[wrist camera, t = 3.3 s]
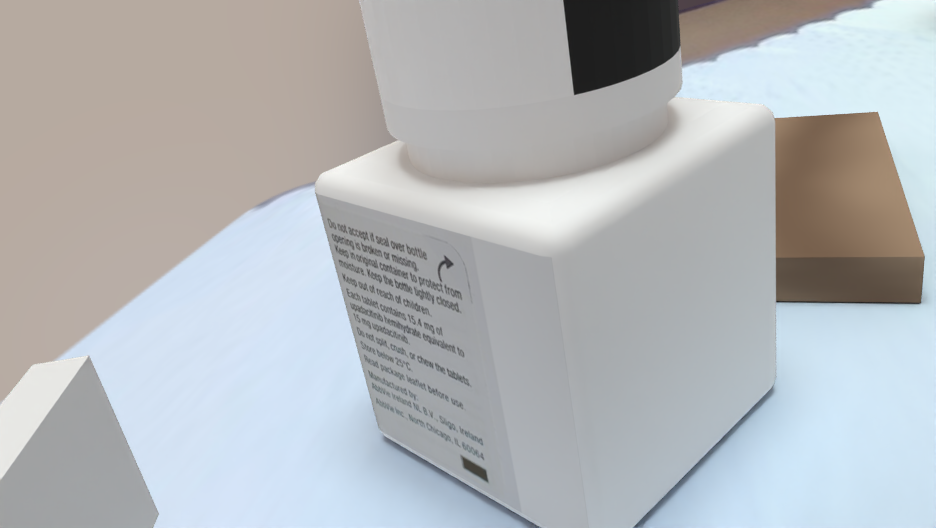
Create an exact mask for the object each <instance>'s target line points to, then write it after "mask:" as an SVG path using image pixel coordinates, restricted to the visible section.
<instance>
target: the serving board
mask: <svg viewBox="0 0 936 528" xmlns="http://www.w3.org/2000/svg"><path fill="white" fill-rule="evenodd" d="M774 119H775V201H776V301H816V302H901V303H921V295H922V283H923V271H924V259H925V256H924V253H923V250H922V247H921V244H920V241H919V238H918V235H917V232H916V228H915V225H914V222H913V219H912V216H911V213H910V210H909V207H908V204H907V201H906V198H905V195H904V191H903V188H902V185H901V182H900V179H899V176H898V173H897V170H896V167H895V164H894V161H893V158H892V154H891V151H890V148H889V145H888V142H887V139H886V136H885V133H884V130H883V127H882V124H881V121H880V117H879V114H878V112H869V113H853V114H836V115H820V116H804V117H788V118H774Z"/></svg>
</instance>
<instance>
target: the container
mask: <svg viewBox="0 0 936 528" xmlns="http://www.w3.org/2000/svg"><path fill="white" fill-rule="evenodd" d="M359 2H360V7H361V12H362V16H363V21H364V25H365V30H366V34H367V39H368V43H369V48H370V52H371V57H372V62H373V66H374V71H375V75H376V80H377V84H378V89H379V94H380V98H381V102H382V107H383V111H384V116H385V121H386V125H387V129H388V132H389V133H390V134H391V135H392V136H393V137H394V138H396V139H398V141H395V142H393V143H391V144H389V145H386V146H384V147H382V148H379V149H377V150H375V151H372V152H370V153H368V154H366V155H363V156H361V157H359V158H356V159H354V160H352V161H350V162H347V163H345V164H343V165H340V166H338V167H336V168H334V169H331V170H329V171H327V172H324V173H322V174H321V175H320V176H319V178H318V180H317V181H316V183H315V194H316V197H317V201H318V205H319V208H320V212H321V216H322V220H323V223H324V227H325V231H326V234H327V238H328V242H329V246H330V249H331V253H332V257H333V260H334V264H335V268H336V272H337V275H338V279H339V283H340V286H341V290H342V294H343V297H344V301H345V305H346V309H347V312H348V316H349V320H350V323H351V327H352V331H353V335H354V338H355V342H356V346H357V349H358V353H359V357H360V361H361V364H362V368H363V372H364V375H365V379H366V383H367V387H368V390H369V394H370V398H371V401H372V405H373V409H374V413H375V416H376V420H377V424H378V427H379V429H380V431H381V432H382V434H383V435H384V436H385V437H387V438H389V439H390V440H392V441H394V442H395V443H397V444H399V445H401V446H402V447H404V448H406V449H407V450H409V451H411V452H412V453H414V454H416V455H418V456H419V457H421V458H423V459H424V460H426V461H428V462H430V463H431V464H433V465H435V466H436V467H438V468H440V469H441V470H443V471H445V472H447V473H448V474H450V475H452V476H453V477H455V478H457V479H459V480H460V481H462V482H464V483H465V484H467V485H469V486H470V487H472V488H474V489H476V490H477V491H479V492H481V493H482V494H484V495H486V496H488V497H489V498H491V499H493V500H494V501H496V502H498V503H500V504H501V505H503V506H505V507H506V508H508V509H510V510H511V511H513V512H515V513H517V514H518V515H520V516H522V517H523V518H525V519H527V520H529V521H530V522H532V523H534V524H535V525H537V526H539V527H540V528H633V527H634V526H635V525H636V524H637V523H638V522H639V521H640V520H641V519H642V518H643V517H644V516H645V515H646V514H647V513H648V512H649V511H650V510H651V509H652V508H653V507H654V506H655V505H656V504H657V503H658V502H659V501H660V500H661V499H662V498H663V497H664V496H665V495H666V494H667V493H668V492H669V491H670V490H671V489H672V488H673V487H674V486H675V485H676V484H677V483H678V482H679V481H680V480H681V479H682V478H683V477H684V476H685V475H686V474H687V473H688V472H689V471H690V470H691V469H692V468H693V467H694V466H695V465H696V464H697V463H698V462H699V461H700V460H701V459H702V458H703V457H704V456H705V455H706V453H707V452H708V451H709V450H710V449H711V448H712V447H713V446H714V445H715V444H716V443H717V442H718V441H719V440H720V439H721V438H722V437H723V436H724V435H725V434H726V433H727V432H728V431H729V430H730V429H731V428H732V427H733V426H734V425H735V424H736V423H737V422H738V421H739V420H740V419H741V418H742V417H743V416H744V415H745V414H746V413H747V412H748V411H749V410H750V409H751V408H752V407H753V406H754V405H755V404H756V403H757V402H758V401H759V400H760V399H761V398H762V397H763V396H764V395H765V394H766V393H767V392H768V391H769V390H770V389H771V388H772V387H773V385H774V382H775V379H776V201H775V119H774V115H773V112H772V111H771V110H769V109H768V108H767V107H766V106H765V105H762V104H752V103H740V102H728V101H716V100H705V99H693V98H681V97H675V96H676V95H677V93H678V92H679V91H680V90H681V86H682V65H681V47H680V28H679V10H678V0H359Z"/></svg>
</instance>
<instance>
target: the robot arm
mask: <svg viewBox="0 0 936 528" xmlns="http://www.w3.org/2000/svg"><path fill="white" fill-rule="evenodd" d="M158 515H159V513H158V511H157V508H156V506H155V504H154V502H153V499H152V497H151V495H150V492H149V490H148V488H147V486H146V483H145V481H144V479H143V477H142V474H141V472H140V470H139V468H138V465H137V463H136V461H135V458H134V456H133V454H132V452H131V449H130V447H129V445H128V443H127V440H126V438H125V436H124V434H123V431H122V429H121V427H120V424H119V422H118V420H117V418H116V415H115V413H114V411H113V409H112V406H111V404H110V402H109V400H108V397H107V395H106V393H105V391H104V388H103V386H102V384H101V381H100V379H99V377H98V375H97V372H96V370H95V368H94V366H93V363H92V361H91V359H90V357H89V356H83V357H77V358H71V359H65V360H59V361H53V362H47V363H42V364H35V365H32V367H31V368H30V369H29V370H28V371H27V373H26V374H25V375H24V376H23V378H22V379H21V380H20V381H19V383H18V384H17V385H16V386H15V388H14V389H13V390H12V391H11V393H10V394H9V395H8V396H7V397H6V399H5V400H4V401H3V402H2V403H1V405H0V528H153V527H154V524H155V522H156V520H157V517H158Z"/></svg>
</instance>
